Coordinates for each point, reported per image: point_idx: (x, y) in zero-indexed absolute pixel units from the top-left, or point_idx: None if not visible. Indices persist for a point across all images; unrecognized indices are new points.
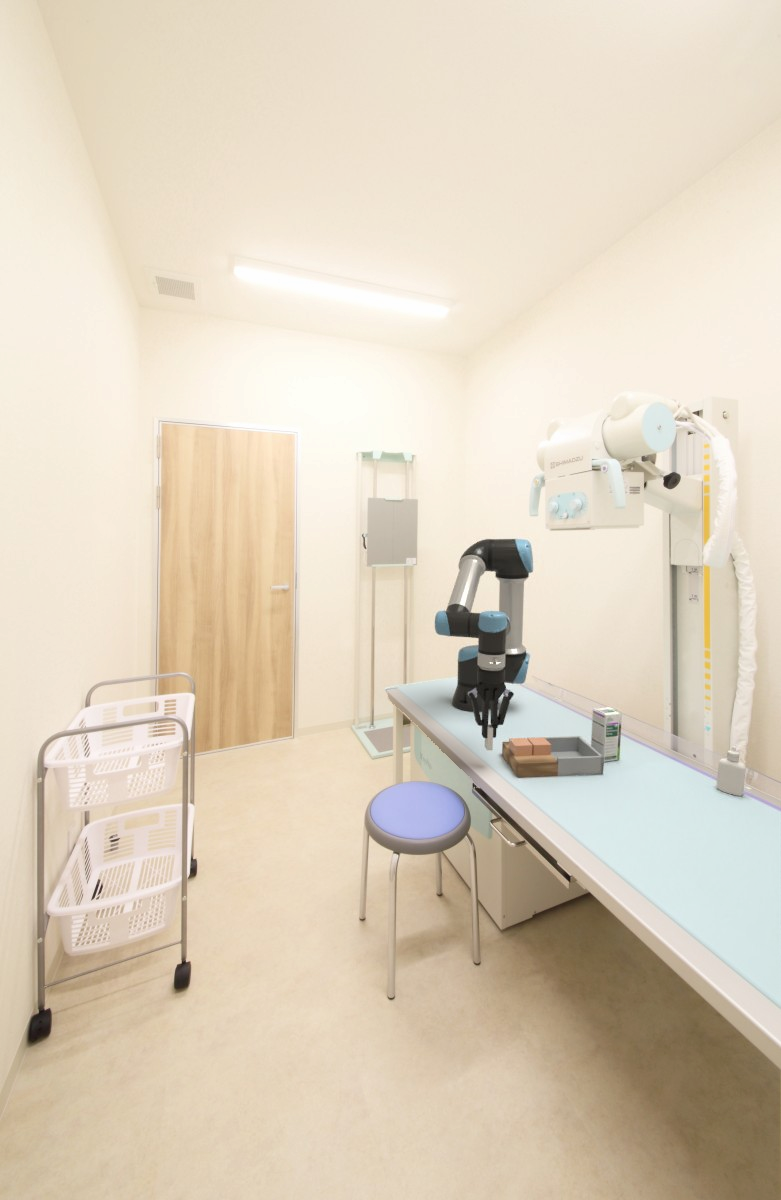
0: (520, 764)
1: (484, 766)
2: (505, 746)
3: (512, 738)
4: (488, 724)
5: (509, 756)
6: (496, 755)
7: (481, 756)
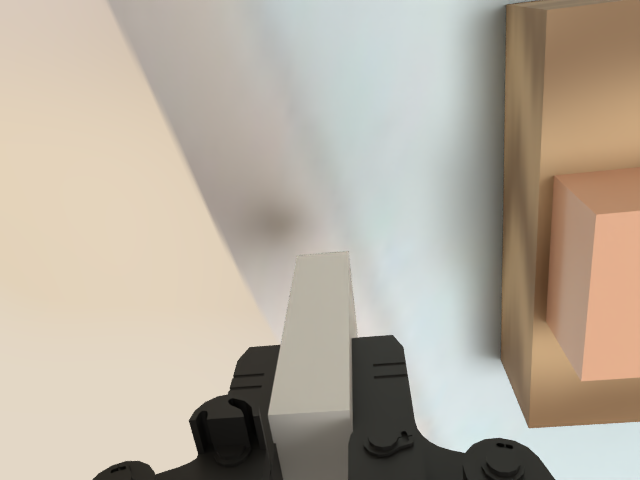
0: (538, 421)
1: (306, 225)
2: (539, 117)
3: (636, 216)
4: (318, 413)
5: (522, 217)
6: (447, 27)
7: (308, 54)
